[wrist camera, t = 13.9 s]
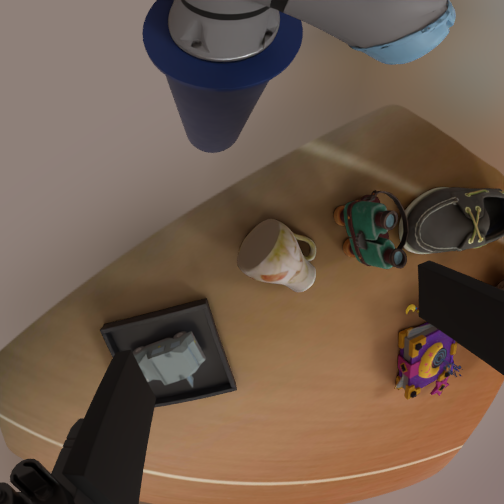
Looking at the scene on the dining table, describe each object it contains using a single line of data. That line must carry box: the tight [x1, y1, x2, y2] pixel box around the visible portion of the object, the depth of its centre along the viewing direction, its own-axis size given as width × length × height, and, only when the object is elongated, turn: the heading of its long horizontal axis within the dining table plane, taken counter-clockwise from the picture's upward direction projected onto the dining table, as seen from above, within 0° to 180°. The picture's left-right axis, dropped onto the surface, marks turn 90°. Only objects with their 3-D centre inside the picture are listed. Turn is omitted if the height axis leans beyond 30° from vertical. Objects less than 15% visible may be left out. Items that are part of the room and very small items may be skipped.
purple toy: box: [394, 304, 463, 400], centre depth 39 cm, size 15×25×12 cm, turn 12°
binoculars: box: [334, 190, 408, 269], centre depth 34 cm, size 9×11×10 cm
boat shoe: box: [399, 187, 504, 254], centre depth 37 cm, size 11×29×9 cm, turn 110°
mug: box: [237, 219, 316, 292], centre depth 35 cm, size 8×10×10 cm
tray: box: [100, 298, 237, 407], centre depth 37 cm, size 14×15×2 cm
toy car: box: [133, 331, 206, 388], centre depth 35 cm, size 6×10×5 cm, turn 111°
